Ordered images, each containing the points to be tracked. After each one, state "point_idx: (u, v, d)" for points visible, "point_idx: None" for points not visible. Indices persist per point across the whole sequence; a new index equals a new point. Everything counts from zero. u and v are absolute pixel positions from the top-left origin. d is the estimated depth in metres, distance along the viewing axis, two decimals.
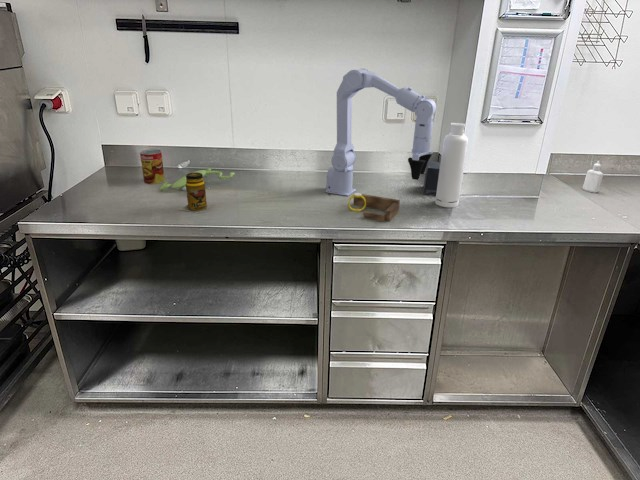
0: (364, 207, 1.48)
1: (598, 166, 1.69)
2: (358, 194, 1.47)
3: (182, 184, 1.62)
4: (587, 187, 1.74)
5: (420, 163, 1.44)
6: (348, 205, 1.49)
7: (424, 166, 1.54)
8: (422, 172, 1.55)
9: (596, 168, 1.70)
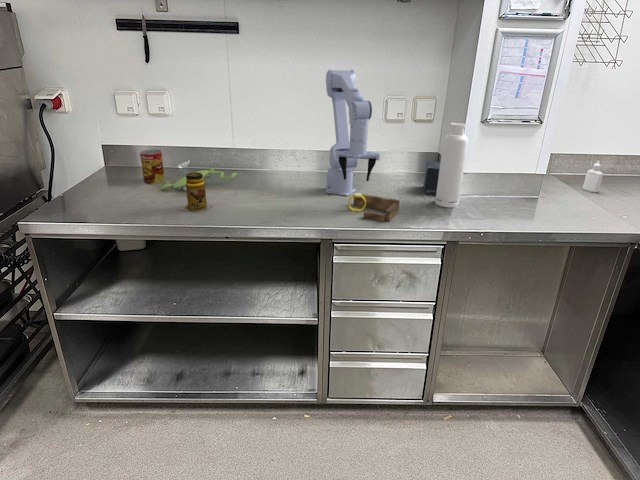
0: (364, 207, 1.48)
1: (598, 166, 1.69)
2: (358, 194, 1.47)
3: (183, 184, 1.62)
4: (587, 187, 1.74)
5: None
6: (348, 205, 1.49)
7: (367, 173, 1.47)
8: None
9: (596, 168, 1.70)
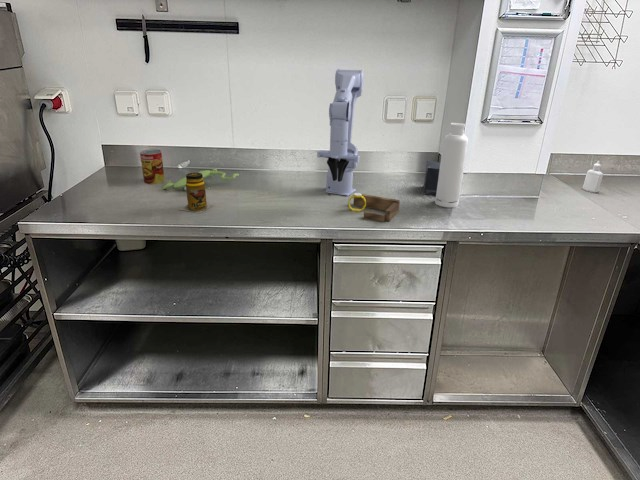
0: (364, 207, 1.48)
1: (598, 166, 1.69)
2: (358, 194, 1.47)
3: (183, 184, 1.63)
4: (587, 187, 1.74)
5: None
6: (348, 205, 1.49)
7: None
8: None
9: (596, 168, 1.70)
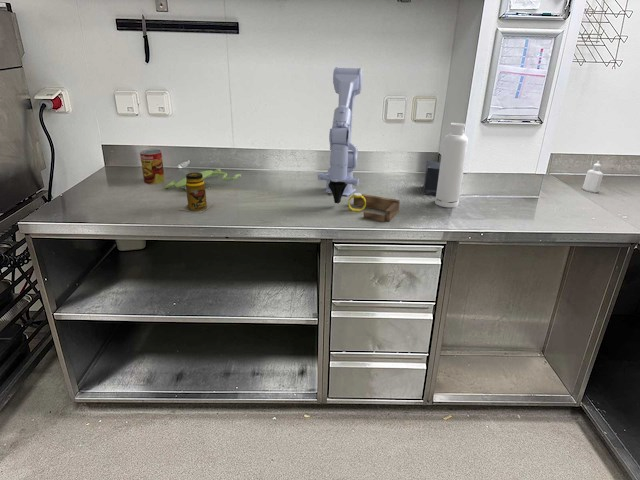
0: (364, 207, 1.48)
1: (598, 166, 1.69)
2: (358, 194, 1.47)
3: (184, 183, 1.63)
4: (587, 187, 1.74)
5: None
6: (348, 205, 1.49)
7: None
8: None
9: (596, 168, 1.70)
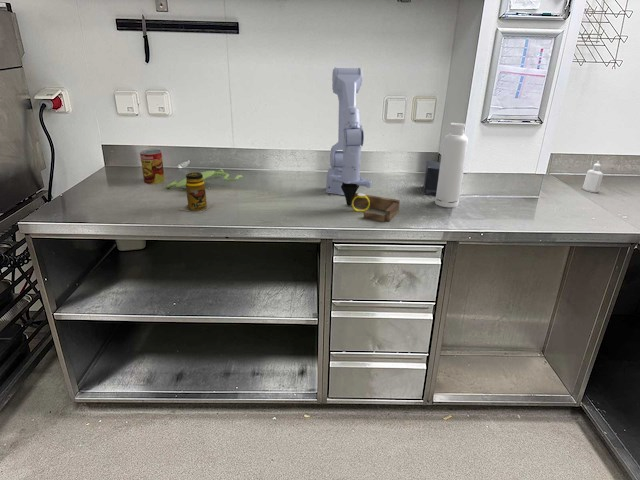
0: (368, 207, 1.48)
1: (598, 166, 1.69)
2: (362, 194, 1.47)
3: (185, 183, 1.63)
4: (587, 187, 1.74)
5: None
6: (352, 205, 1.48)
7: None
8: None
9: (596, 168, 1.70)
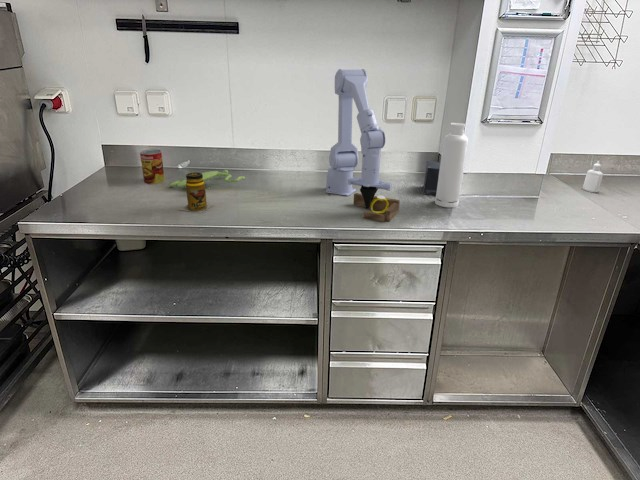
0: None
1: (598, 166, 1.69)
2: (381, 197, 1.45)
3: None
4: (587, 187, 1.74)
5: None
6: (371, 209, 1.46)
7: None
8: None
9: (596, 168, 1.70)
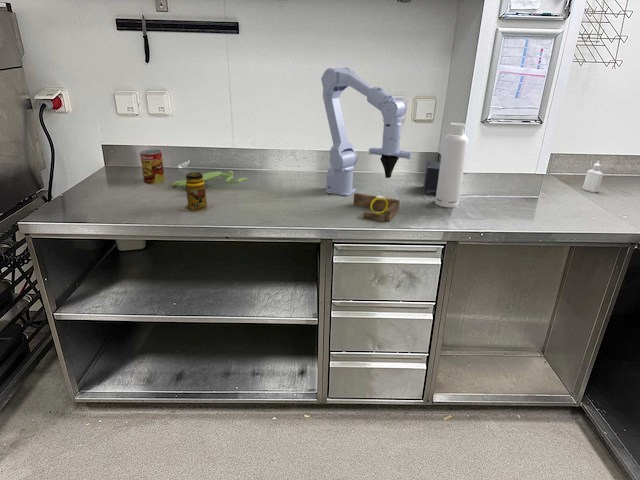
0: None
1: (598, 166, 1.69)
2: (381, 196, 1.45)
3: None
4: (587, 187, 1.74)
5: None
6: (371, 209, 1.46)
7: None
8: None
9: (596, 168, 1.70)
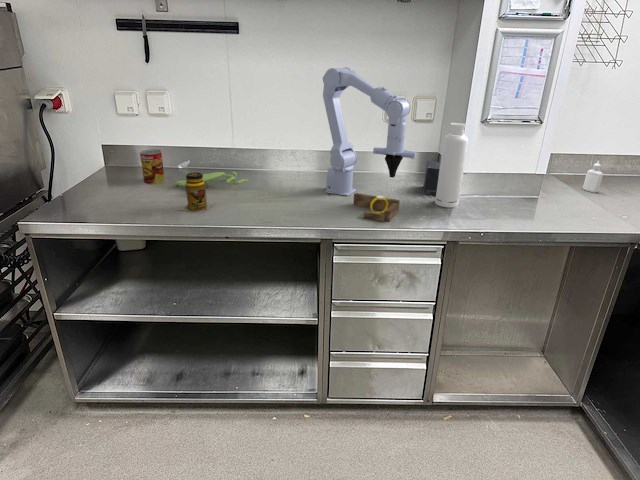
0: None
1: (598, 166, 1.69)
2: (381, 196, 1.45)
3: None
4: (587, 187, 1.74)
5: None
6: (371, 209, 1.46)
7: None
8: None
9: (596, 168, 1.70)
